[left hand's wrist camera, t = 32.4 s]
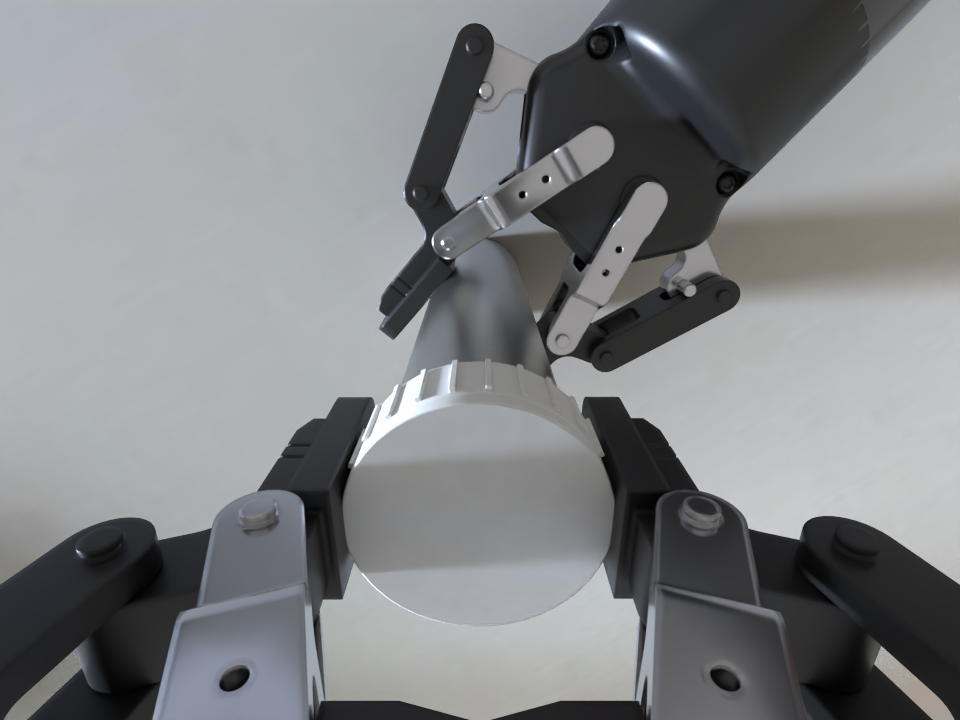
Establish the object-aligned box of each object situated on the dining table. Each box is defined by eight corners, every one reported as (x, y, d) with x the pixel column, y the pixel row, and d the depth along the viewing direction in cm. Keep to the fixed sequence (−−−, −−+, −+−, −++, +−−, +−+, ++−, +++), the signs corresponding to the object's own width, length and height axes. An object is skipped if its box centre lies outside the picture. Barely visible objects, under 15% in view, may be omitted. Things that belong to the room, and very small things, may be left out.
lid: (382, 571, 12) (366, 640, 10) (335, 370, 10) (305, 414, 8) (602, 551, 12) (622, 619, 10) (594, 342, 10) (617, 382, 8)
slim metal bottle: (427, 253, 26) (337, 432, 10) (504, 226, 26) (551, 365, 9) (455, 326, 28) (418, 593, 11) (528, 302, 27) (607, 542, 10)
